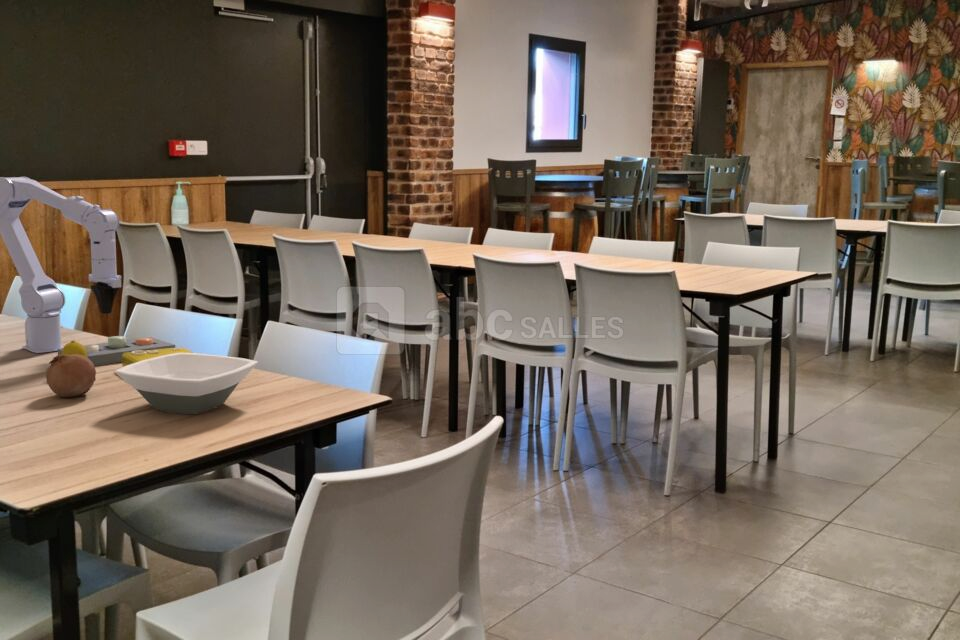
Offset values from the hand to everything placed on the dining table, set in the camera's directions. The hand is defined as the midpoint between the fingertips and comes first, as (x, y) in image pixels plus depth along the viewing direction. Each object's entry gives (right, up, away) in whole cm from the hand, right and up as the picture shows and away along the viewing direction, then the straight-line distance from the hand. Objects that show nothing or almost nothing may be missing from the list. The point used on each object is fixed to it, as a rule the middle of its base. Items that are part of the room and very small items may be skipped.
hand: (106, 313), depth 238 cm
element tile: (+19, -14, -16) cm, 29 cm away
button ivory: (-1, -11, -6) cm, 12 cm away
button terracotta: (+8, -9, +4) cm, 13 cm away
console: (+3, -11, -1) cm, 11 cm away
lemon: (+1, -14, -21) cm, 26 cm away
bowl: (+35, -19, -46) cm, 60 cm away
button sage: (+3, -9, -2) cm, 9 cm away
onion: (+9, -18, -39) cm, 44 cm away
